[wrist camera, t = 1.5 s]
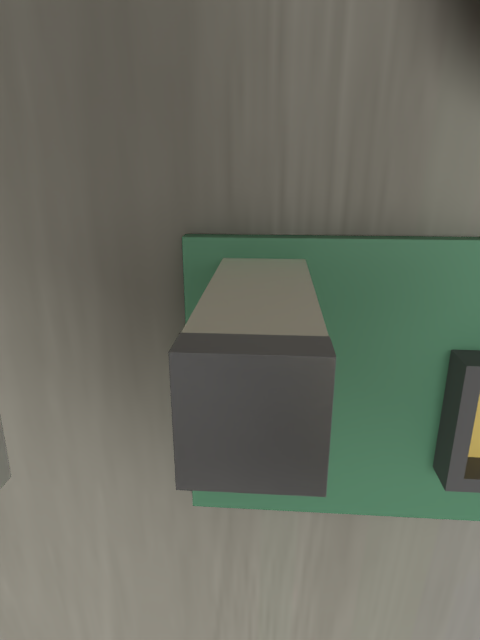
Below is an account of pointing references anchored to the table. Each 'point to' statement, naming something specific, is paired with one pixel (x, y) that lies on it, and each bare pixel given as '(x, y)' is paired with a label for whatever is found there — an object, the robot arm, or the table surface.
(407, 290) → the board
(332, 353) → the plug
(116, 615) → the table surface
